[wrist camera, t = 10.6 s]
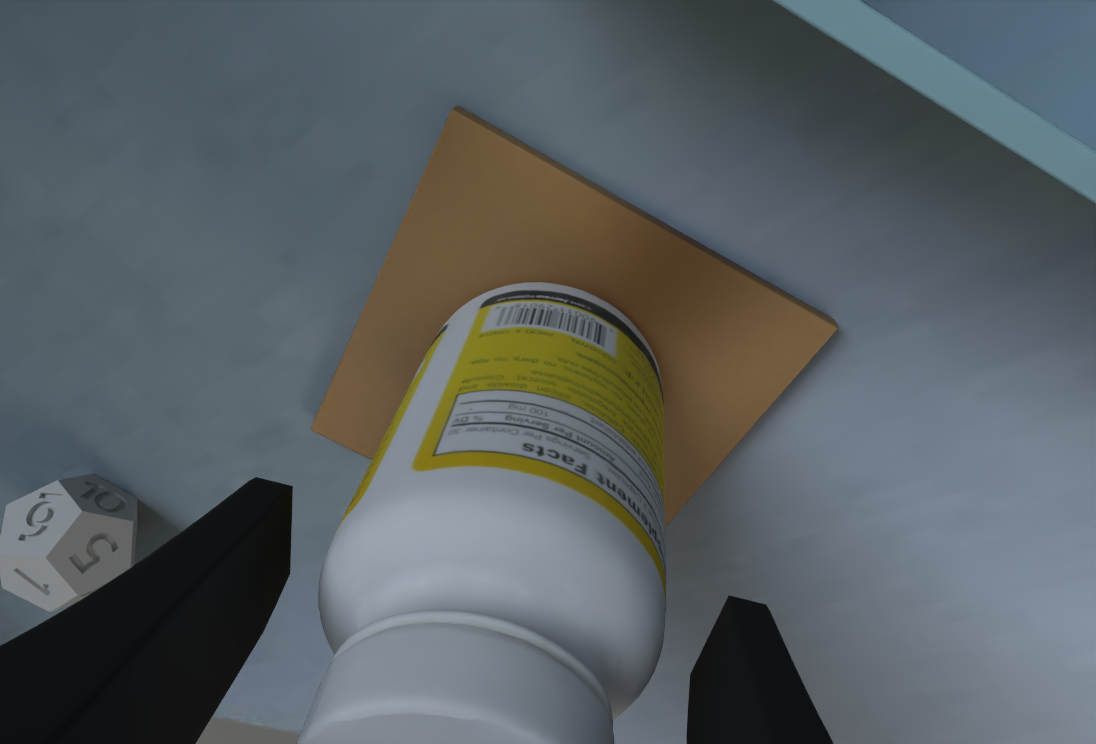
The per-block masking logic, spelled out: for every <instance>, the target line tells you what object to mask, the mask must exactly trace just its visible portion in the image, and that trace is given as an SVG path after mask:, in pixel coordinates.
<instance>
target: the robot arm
mask: <svg viewBox="0 0 1096 744" xmlns="http://www.w3.org/2000/svg"><path fill="white" fill-rule="evenodd" d="M292 491H293V486H289V485H285V484H281V483H277V482H273V481H269V480H265V479H261V478H257V477H256V478H254V479H252V480H250V481H248V482H247V483H246V484H245V485H243V486H242V487H241V488H239V489H238V490H237V491H235V492H234V493H233V494H232V495H230V496H229V497H228V498H226V499H225V500H224V501H222V502H221V503H220V504H219V505H217V506H216V507H215V508H213V509H212V510H211V511H209V512H208V513H207V514H205V515H204V516H203V517H201V518H200V519H199V520H197V521H196V522H195V523H193V524H192V525H191V526H189V527H188V528H187V529H185V530H184V531H182V532H181V533H180V534H178V535H177V536H175V537H174V538H173V539H171V540H170V541H168V542H167V543H166V544H164V545H163V546H161V547H160V548H158V549H157V550H156V551H154V552H153V553H151V554H150V555H149V556H147V557H146V558H144V559H143V560H142V561H140V562H139V563H137V564H136V565H134V566H133V567H131V568H130V569H128V570H127V571H125V572H124V573H122V574H120V575H119V576H117V577H116V578H114V579H113V580H111V581H110V582H108V583H106V584H105V585H103V586H102V587H100V588H99V589H97V590H96V591H94V592H92V593H91V594H89V595H88V596H86V597H85V598H83V599H82V600H80V601H78V602H77V603H75V604H73V605H72V606H70V607H68V608H67V609H65V610H63V611H62V612H60V613H58V614H57V615H55V616H53V617H51V618H50V619H48V620H46V621H44V622H43V623H41V624H39V625H37V626H36V627H34V628H32V629H30V630H28V631H27V632H25V633H23V634H21V635H19V636H18V637H16V638H14V639H12V640H10V641H8V642H7V643H5V644H3V645H1V646H0V744H195V743H196V742H197V740H198V738H199V737H200V735H201V734H202V732H203V730H204V729H205V727H206V725H207V724H208V722H209V721H210V719H211V717H212V716H213V714H214V712H215V711H216V709H217V707H218V706H219V704H220V703H221V701H222V699H223V698H224V696H225V694H226V693H227V691H228V689H229V688H230V686H231V685H232V683H233V681H234V680H235V678H236V676H237V675H238V673H239V671H240V670H241V668H242V666H243V665H244V663H245V661H246V660H247V658H248V656H249V655H250V653H251V652H252V650H253V648H254V647H255V645H256V643H257V641H258V640H259V638H260V636H261V635H262V633H263V631H264V629H265V627H266V625H267V623H268V621H269V619H270V617H271V614H272V612H273V610H274V608H275V606H276V604H277V602H278V599H279V597H280V595H281V593H282V590H283V588H284V586H285V584H286V581H287V579H288V577H289V575H290V557H291V524H292ZM687 744H833V742H832V740H831V738H830V736H829V734H828V732H827V730H826V728H825V726H824V724H823V722H822V720H821V718H820V717H819V715H818V713H817V711H816V709H815V707H814V705H813V703H812V701H811V699H810V697H809V695H808V693H807V691H806V689H805V686H804V684H803V682H802V680H801V678H800V676H799V674H798V672H797V670H796V667H795V665H794V663H793V661H792V659H791V657H790V654H789V652H788V650H787V648H786V646H785V644H784V641H783V639H782V637H781V635H780V632H779V630H778V628H777V626H776V624H775V621H774V619H773V617H772V615H771V612H770V611H769V609H768V607H767V605H765V604H761V603H757V602H753V601H749V600H745V599H741V598H737V597H733V596H728V598H727V600H726V602H725V604H724V606H723V609H722V611H721V613H720V615H719V617H718V619H717V621H716V623H715V625H714V627H713V629H712V631H711V633H710V635H709V637H708V639H707V641H706V643H705V645H704V647H703V650H702V652H701V654H700V656H699V658H698V660H697V662H696V664H695V666H694V668H693V670H692V672H691V674H690V688H689V703H688V721H687Z"/></svg>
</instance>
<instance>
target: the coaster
mask: <svg viewBox="0 0 1096 744" xmlns="http://www.w3.org/2000/svg"><path fill="white" fill-rule="evenodd" d="M525 282H544V283H553V284H559V285H565V286H569V287H573V288H576V289H580V290H583V291H585V292H588V293H590V294H592V295H594V296H596V297H598V298H600V299H602V300H604V301H606V302H607V303H609V304H611V305H612V306H614V307H615V308H616V309H618V310H619V311H620V312H621V313H623V314H624V315H625V316H626V317H627V318H628V319H629V320H630V321H631V322H632V323H633V324H634V325H635V326H636V328H637V329H638V330H639V331H640V332H641V334H642V335H643V337H644V338H645V339H646V341H647V343H648V344H649V346H650V348H651V350H652V352H653V354H654V356H655V359H656V361H657V364H658V368H659V372H660V376H661V381H662V389H663V399H664V405H663V407H664V478H665V527H666V525H667V524H668V523H669V522H670V521H671V520H672V519H673V517H674V516H675V515H676V514H677V513H678V512H679V510H680V509H681V508H682V507H683V506H684V505H685V504H686V502H687V501H688V500H689V499H690V498H691V497H692V496H693V494H694V493H695V492H696V491H697V490H698V489H699V488H700V486H701V485H702V484H703V483H704V482H705V481H706V479H707V478H708V477H709V476H710V475H711V474H712V473H713V471H714V470H715V469H716V468H717V467H718V466H719V465H720V463H721V462H722V461H723V460H724V459H725V458H726V457H727V455H728V454H729V453H730V452H731V451H732V450H733V449H734V447H735V446H736V445H737V444H738V443H739V442H740V440H741V439H742V438H743V437H744V436H745V435H746V434H747V432H748V431H749V430H750V429H751V428H752V427H753V426H754V424H755V423H756V422H757V421H758V420H759V419H760V418H761V416H762V415H763V414H764V413H765V412H766V411H767V409H768V408H769V407H770V406H771V405H772V404H773V403H774V401H775V400H776V399H777V398H778V397H779V396H780V395H781V393H782V392H783V391H784V390H785V389H786V388H787V387H788V385H789V384H790V383H791V382H792V381H793V380H794V379H795V377H796V376H797V375H798V374H799V373H800V372H801V370H802V369H803V368H804V367H805V366H806V365H807V364H808V362H809V361H810V360H811V359H812V358H813V357H814V356H815V354H816V353H817V352H818V351H819V350H820V349H821V348H822V346H823V345H824V344H825V343H826V342H827V341H828V339H829V338H830V337H831V336H832V335H833V334H834V333H835V331H836V330H837V329H838V327H837V324H836V322H835V320H834V319H832V318H831V317H829V316H827V315H825V314H824V313H822V312H820V311H818V310H816V309H815V308H813V307H811V306H809V305H808V304H806V303H804V302H802V301H801V300H799V299H797V298H795V297H794V296H792V295H790V294H788V293H787V292H785V291H783V290H781V289H779V288H778V287H776V286H774V285H772V284H771V283H769V282H767V281H765V280H764V279H762V278H760V277H758V276H757V275H755V274H753V273H751V272H750V271H748V270H746V269H744V268H743V267H741V266H739V265H737V264H735V263H734V262H732V261H730V260H728V259H727V258H725V257H723V256H721V255H720V254H718V253H716V252H714V251H713V250H711V249H709V248H707V247H706V246H704V245H702V244H700V243H698V242H697V241H695V240H693V239H691V238H690V237H688V236H686V235H684V234H683V233H681V232H679V231H677V230H676V229H674V228H672V227H670V226H669V225H667V224H665V223H663V222H661V221H660V220H658V219H656V218H654V217H653V216H651V215H649V214H647V213H646V212H644V211H642V210H640V209H639V208H637V207H635V206H633V205H632V204H630V203H628V202H626V201H624V200H623V199H621V198H619V197H617V196H616V195H614V194H612V193H610V192H609V191H607V190H605V189H603V188H602V187H600V186H598V185H596V184H595V183H593V182H591V181H589V180H588V179H586V178H584V177H582V176H580V175H579V174H577V173H575V172H573V171H572V170H570V169H568V168H566V167H565V166H563V165H561V164H559V163H558V162H556V161H554V160H552V159H551V158H549V157H547V156H545V155H543V154H542V153H540V152H538V151H536V150H535V149H533V148H531V147H529V146H528V145H526V144H524V143H522V142H521V141H519V140H517V139H515V138H514V137H512V136H510V135H508V134H506V133H505V132H503V131H501V130H499V129H498V128H496V127H494V126H492V125H491V124H489V123H487V122H485V121H484V120H482V119H480V118H478V117H477V116H475V115H473V114H471V113H470V112H468V111H466V110H464V109H462V108H461V107H459V106H455V107H454V108H453V109H452V110H451V112H450V114H449V116H448V119H447V121H446V123H445V126H444V128H443V130H442V132H441V135H440V137H439V139H438V141H437V144H436V146H435V148H434V150H433V153H432V155H431V157H430V159H429V162H428V164H427V166H426V169H425V171H424V173H423V175H422V178H421V180H420V182H419V184H418V187H417V189H416V191H415V193H414V196H413V198H412V200H411V203H410V205H409V207H408V209H407V212H406V214H405V216H404V218H403V221H402V223H401V225H400V227H399V230H398V232H397V234H396V237H395V239H394V241H393V243H392V246H391V248H390V250H389V252H388V255H387V257H386V259H385V261H384V264H383V266H382V268H381V271H380V273H379V275H378V277H377V280H376V282H375V284H374V286H373V289H372V291H371V293H370V295H369V298H368V300H367V302H366V304H365V307H364V309H363V311H362V314H361V316H360V318H359V320H358V323H357V325H356V327H355V329H354V332H353V334H352V336H351V338H350V341H349V343H348V345H347V348H346V350H345V352H344V354H343V357H342V359H341V361H340V363H339V366H338V368H337V370H336V372H335V375H334V377H333V379H332V382H331V384H330V386H329V388H328V391H327V393H326V395H325V397H324V400H323V402H322V404H321V406H320V409H319V411H318V413H317V416H316V418H315V420H314V422H313V425H312V427H311V430H312V431H314V432H316V433H318V434H320V435H322V436H324V437H326V438H328V439H330V440H332V441H334V442H336V443H338V444H341V445H343V446H345V447H347V448H349V449H351V450H353V451H355V452H357V453H359V454H361V455H363V456H365V457H367V458H369V459H371V460H373V458H374V456H375V454H376V452H377V450H378V448H379V446H380V444H381V442H382V440H383V438H384V436H385V434H386V432H387V430H388V428H389V426H390V424H391V422H392V420H393V418H394V416H395V414H396V412H397V410H398V408H399V406H400V405H401V403H402V401H403V399H404V397H405V395H406V393H407V391H408V389H409V387H410V385H411V383H412V381H413V379H414V377H415V375H416V373H417V371H418V369H419V366H420V364H421V363H422V361H423V359H424V357H425V355H426V354H427V352H428V350H429V348H430V346H431V344H432V342H433V341H434V339H435V338H436V336H437V334H438V333H439V331H440V330H441V328H442V327H443V325H444V324H445V323H446V322H447V321H448V320H449V318H450V317H451V316H452V315H453V314H454V313H455V312H456V311H457V310H459V309H460V308H461V307H462V306H464V305H465V304H466V303H468V302H469V301H471V300H472V299H474V298H476V297H478V296H480V295H482V294H484V293H486V292H488V291H491V290H494V289H497V288H500V287H503V286H507V285H512V284H518V283H525Z"/></svg>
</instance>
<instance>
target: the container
mask: <svg viewBox="0 0 1096 744" xmlns="http://www.w3.org/2000/svg"><path fill="white" fill-rule="evenodd" d="M772 1H774V2H775V3H777V4H778V5H780V6H781V7H783V8H785V9H786V10H788V11H789V12H791V13H793V14H794V15H796V16H797V17H799V18H801V19H802V20H804V21H805V22H807V23H808V24H810V25H812V26H813V27H815V28H816V29H818V30H820V31H821V32H823V33H824V34H826V35H828V36H829V37H831V38H832V39H834V40H835V41H837V42H839V43H840V44H842V45H843V46H845V47H847V48H848V49H850V50H851V51H853V52H855V53H856V54H858V55H859V56H861V57H862V58H864V59H866V60H867V61H869V62H870V63H872V64H874V65H875V66H877V67H878V68H880V69H882V70H883V71H885V72H886V73H888V74H889V75H891V76H893V77H894V78H896V79H897V80H899V81H901V82H902V83H904V84H905V85H907V86H909V87H910V88H912V89H913V90H915V91H916V92H918V93H920V94H921V95H923V96H924V97H926V98H928V99H929V100H931V101H932V102H934V103H936V104H937V105H939V106H940V107H942V108H943V109H945V110H947V111H948V112H950V113H951V114H953V115H955V116H956V117H958V118H959V119H961V120H962V121H964V122H966V123H967V124H969V125H970V126H972V127H974V128H975V129H977V130H978V131H980V132H982V133H983V134H985V135H986V136H988V137H989V138H991V139H993V140H994V141H996V142H997V143H999V144H1001V145H1002V146H1004V147H1005V148H1007V149H1009V150H1010V151H1012V152H1013V153H1015V154H1016V155H1018V156H1020V157H1021V158H1023V159H1024V160H1026V161H1028V162H1029V163H1031V164H1032V165H1034V166H1036V167H1037V168H1039V169H1040V170H1042V171H1043V172H1045V173H1047V174H1048V175H1050V176H1051V177H1053V178H1055V179H1056V180H1058V181H1059V182H1061V183H1063V184H1064V185H1066V186H1067V187H1069V188H1070V189H1072V190H1074V191H1075V192H1077V193H1078V194H1080V195H1082V196H1083V197H1085V198H1086V199H1088V200H1090V201H1091V202H1093V203H1094V204H1096V151H1094V150H1092V149H1091V148H1089V147H1088V146H1086V145H1085V144H1083V143H1082V142H1080V141H1078V140H1077V139H1075V138H1074V137H1072V136H1071V135H1069V134H1068V133H1066V132H1064V131H1063V130H1061V129H1060V128H1058V127H1057V126H1055V125H1054V124H1052V123H1050V122H1049V121H1047V120H1046V119H1044V118H1043V117H1041V116H1039V115H1038V114H1036V113H1035V112H1033V111H1032V110H1030V109H1029V108H1027V107H1025V106H1024V105H1022V104H1021V103H1019V102H1018V101H1016V100H1015V99H1013V98H1011V97H1010V96H1008V95H1007V94H1005V93H1004V92H1002V91H1001V90H999V89H997V88H996V87H994V86H993V85H991V84H990V83H988V82H987V81H985V80H983V79H982V78H980V77H979V76H977V75H976V74H974V73H973V72H971V71H969V70H968V69H966V68H965V67H963V66H962V65H960V64H959V63H957V62H955V61H954V60H952V59H951V58H949V57H948V56H946V55H945V54H943V53H941V52H940V51H938V50H937V49H935V48H934V47H932V46H931V45H929V44H927V43H926V42H924V41H923V40H921V39H920V38H918V37H916V36H915V35H913V34H912V33H910V32H909V31H907V30H906V29H904V28H902V27H901V26H899V25H898V24H896V23H895V22H893V21H892V20H890V19H888V18H887V17H885V16H884V15H882V14H881V13H879V12H878V11H876V10H874V9H873V8H871V7H870V6H868V5H867V4H865V3H864V2H862V1H860V0H772Z"/></svg>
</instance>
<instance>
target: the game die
mask: <svg viewBox="0 0 1096 744" xmlns="http://www.w3.org/2000/svg"><path fill="white" fill-rule="evenodd" d="M136 538H137V498H136V497H134V496H132V495H131V494H129V493H127V492H125V491H123V490H122V489H120V488H118V487H116V486H114V485H113V484H111V483H109V482H107V481H105V480H104V479H102V478H100V477H98V476H96V475H95V474H90V475H84V476H79V477H73V478H67V479H61V480H57V481H55V482H53V483H51V484H48V485H46V486H44V487H42V488H40V489H38V490H36V491H34V492H32V493H30V494H28V495H26V496H24V497H22V498H20V499H17V500H15V501H13V502H11V503H9V504H7V505H6V510H5V515H4V520H3V525H2V530H1V536H0V577H1V585H2V588H4V589H6V590H8V591H9V592H11V593H13V594H15V595H17V596H19V597H21V598H23V599H25V600H27V601H29V602H31V603H33V604H35V605H37V606H39V607H41V608H43V609H45V610H47V611H49V612H53V611H55V610H58V609H60V608H63V607H65V606H68V605H70V604H73V603H76V602H78V601H80V600H82V599H83V598H85V597H86V596H88V595H89V594H91V593H92V592H94V591H96V590H97V589H99V588H100V587H102V586H103V585H105V584H106V583H108V582H110V581H111V580H113V579H114V578H116V577H117V576H119V575H120V574H122V573H124V572H125V571H127V570H128V569H130V568H131V567H133V566H134V560H135V549H136Z"/></svg>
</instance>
